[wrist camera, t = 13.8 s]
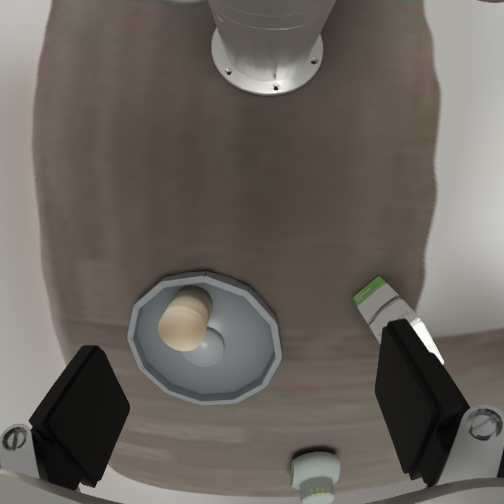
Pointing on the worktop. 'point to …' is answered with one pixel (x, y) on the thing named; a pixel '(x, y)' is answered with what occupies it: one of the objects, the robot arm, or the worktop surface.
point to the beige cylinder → (186, 318)
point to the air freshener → (315, 477)
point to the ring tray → (208, 342)
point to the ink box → (389, 311)
